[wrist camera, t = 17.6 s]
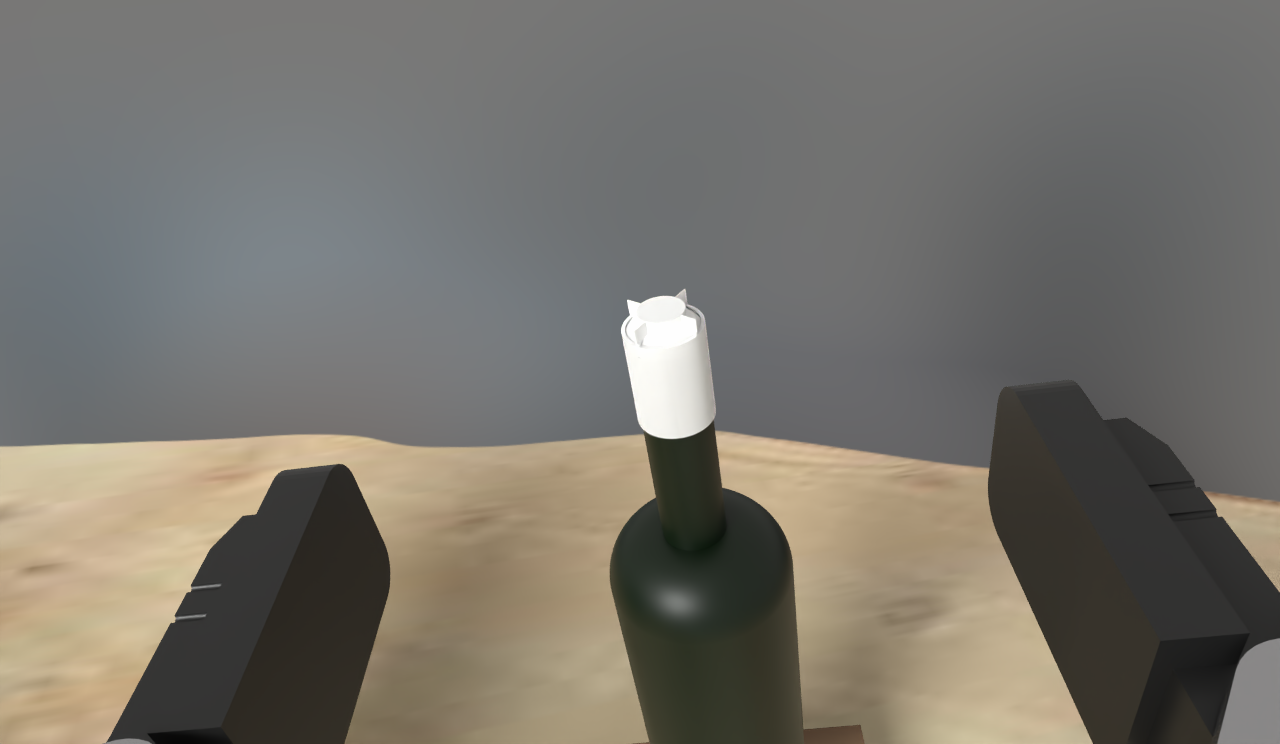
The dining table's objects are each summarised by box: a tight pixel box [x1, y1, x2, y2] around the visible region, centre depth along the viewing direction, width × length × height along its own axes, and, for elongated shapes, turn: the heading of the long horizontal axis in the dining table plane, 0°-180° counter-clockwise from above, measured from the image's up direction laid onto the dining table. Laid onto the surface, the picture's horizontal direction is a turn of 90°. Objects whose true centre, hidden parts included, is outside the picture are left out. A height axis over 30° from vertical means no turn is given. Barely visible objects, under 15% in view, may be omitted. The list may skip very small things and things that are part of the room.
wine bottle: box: [610, 289, 804, 744], centre depth 30 cm, size 6×6×30 cm
